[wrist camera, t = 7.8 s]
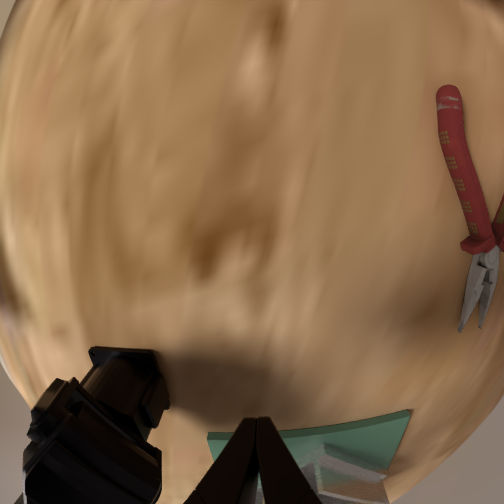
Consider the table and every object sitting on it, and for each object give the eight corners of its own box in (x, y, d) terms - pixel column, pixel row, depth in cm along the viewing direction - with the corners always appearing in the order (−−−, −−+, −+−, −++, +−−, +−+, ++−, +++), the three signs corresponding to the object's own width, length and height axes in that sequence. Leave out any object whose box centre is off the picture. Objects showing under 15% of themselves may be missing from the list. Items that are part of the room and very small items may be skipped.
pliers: (415, 332, 21) (429, 348, 19) (427, 85, 16) (445, 77, 14) (498, 316, 21) (513, 326, 18) (514, 115, 16) (532, 113, 13)
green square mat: (234, 507, 29) (233, 512, 28) (208, 432, 24) (206, 439, 23) (370, 492, 28) (371, 497, 27) (406, 409, 23) (410, 415, 22)
